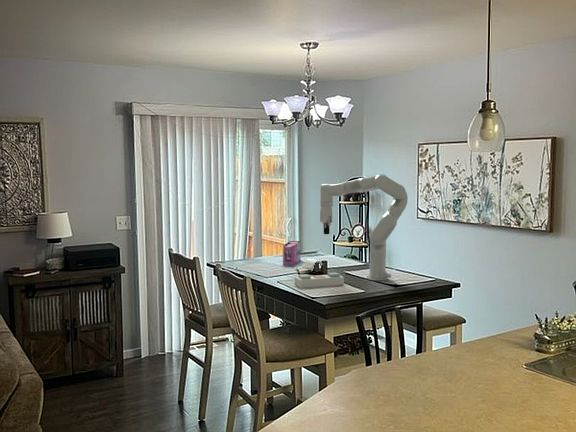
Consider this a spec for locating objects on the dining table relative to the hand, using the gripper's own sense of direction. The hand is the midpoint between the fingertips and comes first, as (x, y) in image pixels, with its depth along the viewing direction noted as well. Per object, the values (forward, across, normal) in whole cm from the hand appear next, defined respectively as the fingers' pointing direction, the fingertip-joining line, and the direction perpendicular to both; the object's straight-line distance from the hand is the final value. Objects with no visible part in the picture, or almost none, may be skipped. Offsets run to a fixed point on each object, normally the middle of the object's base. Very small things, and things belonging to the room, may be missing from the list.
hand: (326, 233), depth 346 cm
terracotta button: (+25, +17, -11) cm, 33 cm away
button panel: (+27, +18, -11) cm, 34 cm away
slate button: (+24, +18, -2) cm, 30 cm away
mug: (+27, -19, -3) cm, 34 cm away
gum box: (+27, -57, -5) cm, 63 cm away
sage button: (+24, +17, -20) cm, 36 cm away
